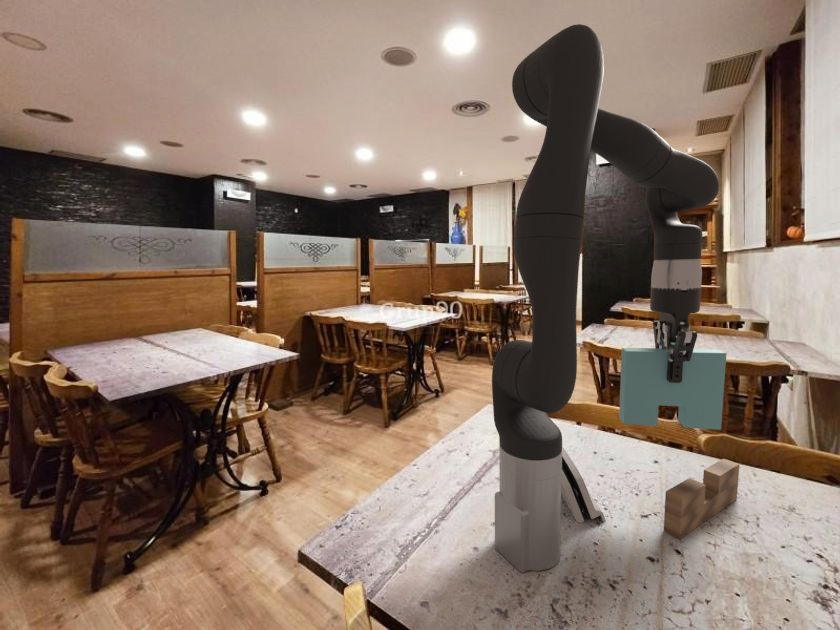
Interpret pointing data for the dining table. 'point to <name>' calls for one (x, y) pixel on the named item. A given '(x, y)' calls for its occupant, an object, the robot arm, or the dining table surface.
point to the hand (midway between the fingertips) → (670, 378)
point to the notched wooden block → (700, 498)
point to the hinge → (577, 492)
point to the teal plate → (672, 387)
